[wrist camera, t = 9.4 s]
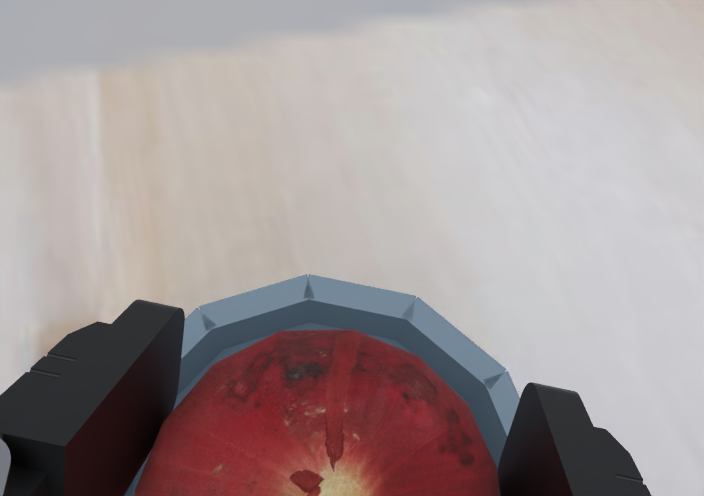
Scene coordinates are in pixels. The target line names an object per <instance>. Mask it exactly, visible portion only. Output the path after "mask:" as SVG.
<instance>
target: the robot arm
mask: <svg viewBox="0 0 704 496" xmlns="http://www.w3.org/2000/svg"><path fill="white" fill-rule="evenodd" d="M184 323H185V316H184V311H183V309H182V308H177V307H173V306H168V305H163V304H158V303H153V302H149V301H144V300H136V301H134V302H133V303H132V304H131V305H130V306H129V307H128V308H127V309H126V310H125V311H124V312H123V313H122V314H121V315H120V316H119V317H118V318H117V319H116V320H115V321H114V322H113V323H112V324H107V323H102V322H95V323H93V324H91V325H88V326H86V327H84V328H82V329H79V330H77V331H75V332H72V333H70V334H68V335H67V336H66V337H65V338H63V339H62V340H61V341H60V342H59V343H58V344H57V345H56V346H55V347H54V348H52V349H51V350H50V351H49V352H48V355H47V357H45V356H44V357H42V358H41V359H40V360H39V361H38V362H37V363H36V364H35V365H34V366H32V367H31V370H30V372H26V373H25V374H24V375H23V376H21V377H20V378H19V379H18V380H17V381H16V382H15V383H14V384H13V385H11V386H10V387H9V388H8V389H7V390H6V391H5V392H4V393H3V394H2V395H0V496H124V495H125V493H126V491H127V490H128V488H129V486H130V485H131V483H132V481H133V480H134V478H135V477H136V475H137V473H138V472H139V470H140V468H141V467H142V465H143V463H144V462H145V460H146V458H147V457H148V455H149V454H150V452H151V450H152V448H153V445H154V443H155V441H156V438H157V436H158V433H159V431H160V429H161V426H162V424H163V421H164V420H165V419H166V418H167V417H168V416H169V414H170V413H171V412H172V411H173V409H174V406H175V402H176V398H177V393H178V386H179V376H180V366H181V355H182V345H183V334H184ZM497 473H498V480H499V488H500V495H501V496H651V494H650V492H649V490H648V488H647V486H646V485H644V484H643V478H642V477H641V475H640V473H639V471H638V469H637V467H636V465H635V463H634V461H633V459H632V457H631V455H630V453H629V452H628V451H627V450H626V449H625V448H624V447H623V446H622V445H621V444H620V443H619V442H618V441H617V440H616V439H615V438H614V437H613V436H612V435H611V434H610V433H609V432H608V431H607V430H606V429H602V428H597V427H593V424H592V422H591V420H590V418H589V416H588V413H587V411H586V409H585V407H584V405H583V402H582V400H581V398H580V396H579V394H578V393H577V392H575V391H570V390H565V389H561V388H556V387H551V386H546V385H542V384H537V383H532V382H531V383H528V384H527V385H526V387H525V388H524V390H523V392H522V395H521V398H520V401H519V404H518V407H517V410H516V413H515V416H514V419H513V422H512V425H511V428H510V430H509V433H508V436H507V439H506V442H505V445H504V448H503V451H502V454H501V457H500V461H499V466H498V472H497Z"/></svg>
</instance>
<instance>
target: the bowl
mask: <svg viewBox="0 0 704 496" xmlns="http://www.w3.org/2000/svg"><path fill="white" fill-rule="evenodd" d="M415 298H416V296H414V295H409V294H404V293H399V292H394V291H389V290H384V289H379V288H374V287H369V286H364V285H359V284H354V283H349V282H345V281H340V280H335V279H330V278H325V277H320V276H315V275H310V274H309V276H308V277H307V274H306V275H303V276H300V277H296V278H293V279H290V280H286V281H283V282H280V283H276V284H273V285H269V286H266V287H263V288H259V289H256V290H253V291H249V292H246V293H242V294H239V295H236V296H232V297H229V298H226V299H222V300H219V301H216V302H212V303H209V304H205V305H202V306H199V308H200V310H199V309H198V308H196V309H195V310H194V311H193V312H192V313H191V314H190V315H189V316H188V317H187V318H186V319H185V323H184V334H183V345H182V355H181V366H180V376H179V386H178V393H177V398H176V402H175V406H174V409H175V408H176V406H177V405H178V404H179V403H180V402H181V401H182V399H183V398H184V397H185V396H186V395H187V394H188V393H189V391H190V390H191V389H192V388H193V387H194V386H195V385H196V383H197V382H198V381H199V380H200V379H201V378H202V377H203V375H204V374H205V373H206V372H207V371H208V370H209V369H210V367H211V366H212V365H213V364H214V363H216V362H218V361H220V360H222V359H224V358H226V357H228V356H230V355H232V354H234V353H236V352H238V351H240V350H242V349H244V348H246V347H248V346H250V345H252V344H254V343H256V342H258V341H260V340H262V339H264V338H266V337H268V336H270V335H272V334H274V333H276V332H278V331H289V330H340V329H354V330H356V331H359V332H361V333H364V334H366V335H369V336H371V337H373V338H376V339H378V340H381V341H383V342H386V343H388V344H391V345H393V346H395V347H398V348H400V349H403V350H405V351H408V352H410V353H413V354H415V355H418V356H419V357H420V358H421V359H422V360H423V361H424V362H425V363H426V364H428V365H429V366H430V367H431V368H432V369H433V370H434V371H435V372H436V373H437V374H438V375H439V376H440V377H441V378H442V379H443V380H444V381H445V382H446V383H447V384H448V385H449V386H450V387H451V388H452V389H453V390H454V391H455V392H456V393H457V394H458V395H459V396H460V397H461V398H462V399H463V400H464V401H465V402H466V403H467V404H468V405H469V407H470V410H471V412H472V414H473V416H474V418H475V421H476V423H477V425H478V427H479V429H480V432H481V434H482V436H483V438H484V441H485V443H486V445H487V447H488V449H489V452H490V454H491V456H492V458H493V460H494V462H495V465H496V467H497V472H498V466H499V461H500V457H501V454H502V451H503V448H504V445H505V442H506V439H507V436H508V433H509V430H510V428H511V425H512V422H513V419H514V416H515V413H516V410H517V407H518V404H519V401H520V398H519V395H518V393H517V391H516V389H515V386H514V384H513V382H512V380H511V377H510V375H509V373H508V371H507V372H505V370H506V369H505V368H504V367H503V366H502V365H500V364H499V363H498V362H497V361H496V360H494V359H493V358H492V357H491V356H489V355H488V354H487V353H486V352H485V351H483V350H482V349H481V348H480V347H478V346H477V345H476V344H475V343H474V342H472V341H471V340H470V339H469V338H467V337H466V336H465V335H464V334H463V333H461V332H460V331H459V330H458V329H456V328H455V327H454V326H453V325H452V324H450V323H449V322H448V321H447V320H445V319H444V318H443V317H442V316H441V315H439V314H438V313H437V312H436V311H434V310H433V309H432V308H431V307H430V306H428V305H427V304H426V303H425V302H423V301H422V300H421V299H420V298H419V297H417V298H416V300H415ZM174 409H173V410H174ZM149 455H150V454H149ZM149 455H148V457H149ZM148 457H147V458H146V460H145V462H144V463H143V465H142V467H141V468H140V470H139V472H138V473H137V475H136V477H135V478H134V480H133V481H132V483H131V485H130V486H129V488H128V490H127V491H126V493H125V495H124V496H135V488H136V486H137V484H138V481H139V479H140V476H141V474H142V472H143V469H144V467H145V464H146V462H147V460H148Z"/></svg>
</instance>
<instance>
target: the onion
mask: <svg viewBox="0 0 704 496" xmlns="http://www.w3.org/2000/svg"><path fill="white" fill-rule="evenodd" d="M135 496H501V495H500V488H499V480H498V473H497V467H496V465H495V462H494V460H493V458H492V456H491V454H490V452H489V449H488V447H487V445H486V443H485V441H484V438H483V436H482V434H481V432H480V429H479V427H478V425H477V423H476V421H475V418H474V416H473V414H472V412H471V410H470V407H469V405H468V404H467V403H466V402H465V401H464V400H463V399H462V398H461V397H460V396H459V395H458V394H457V393H456V392H455V391H454V390H453V389H452V388H451V387H450V386H449V385H448V384H447V383H446V382H445V381H444V380H443V379H442V378H441V377H440V376H439V375H438V374H437V373H436V372H435V371H434V370H433V369H432V368H431V367H430V366H429V365H428V364H426V363H425V362H424V361H423V360H422V359H421V358H420V357H419V356H418V355H415V354H413V353H410V352H408V351H405V350H403V349H400V348H398V347H395V346H393V345H391V344H388V343H386V342H383V341H381V340H378V339H376V338H373V337H371V336H369V335H366V334H364V333H361V332H359V331H356V330H354V329H340V330H289V331H278V332H276V333H274V334H272V335H270V336H268V337H266V338H264V339H262V340H260V341H258V342H256V343H254V344H252V345H250V346H248V347H246V348H244V349H242V350H240V351H238V352H236V353H234V354H232V355H230V356H228V357H226V358H224V359H222V360H220V361H218V362H216V363H214V364H213V365H212V366H211V367H210V369H209V370H208V371H207V372H206V373H205V374H204V375H203V377H202V378H201V379H200V380H199V381H198V382H197V383H196V385H195V386H194V387H193V388H192V389H191V390H190V391H189V393H188V394H187V395H186V396H185V397H184V398H183V399H182V401H181V402H180V403H179V404H178V405H177V406H176V408H175V409H174V410H173V411H172V412H171V413H170V414H169V416H168V417H167V418H166V419H165V420H164V421H163V424H162V426H161V429H160V431H159V433H158V436H157V438H156V441H155V443H154V445H153V448H152V450H151V452H150V455H149V457H148V460H147V462H146V464H145V467H144V469H143V472H142V474H141V476H140V479H139V481H138V484H137V486H136V488H135Z"/></svg>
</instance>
